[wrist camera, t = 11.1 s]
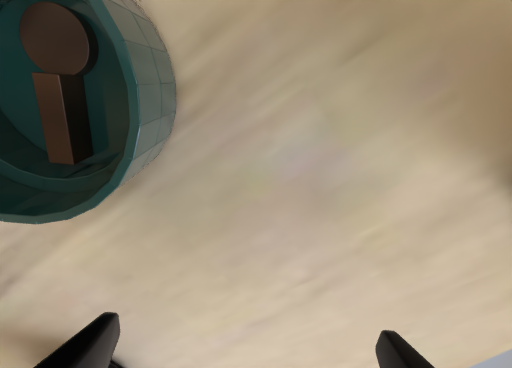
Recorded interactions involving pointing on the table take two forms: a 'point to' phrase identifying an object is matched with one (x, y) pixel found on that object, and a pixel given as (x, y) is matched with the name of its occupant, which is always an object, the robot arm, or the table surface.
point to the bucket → (99, 113)
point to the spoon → (60, 76)
